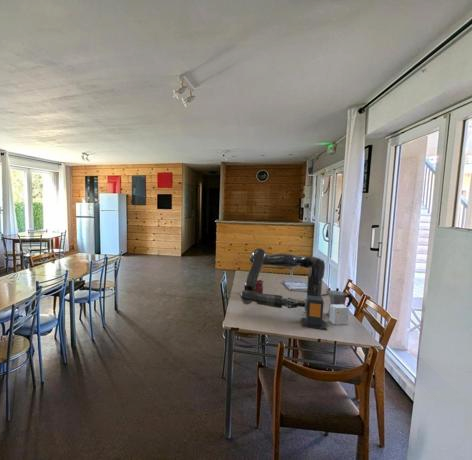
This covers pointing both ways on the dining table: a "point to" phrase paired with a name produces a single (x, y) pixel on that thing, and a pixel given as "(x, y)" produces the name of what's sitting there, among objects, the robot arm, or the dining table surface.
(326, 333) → the dining table surface
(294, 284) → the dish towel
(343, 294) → the coffeepot
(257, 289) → the kitchen canister
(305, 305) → the push plate
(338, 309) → the small box
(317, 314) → the dispenser
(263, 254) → the robot arm
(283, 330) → the dining table surface
